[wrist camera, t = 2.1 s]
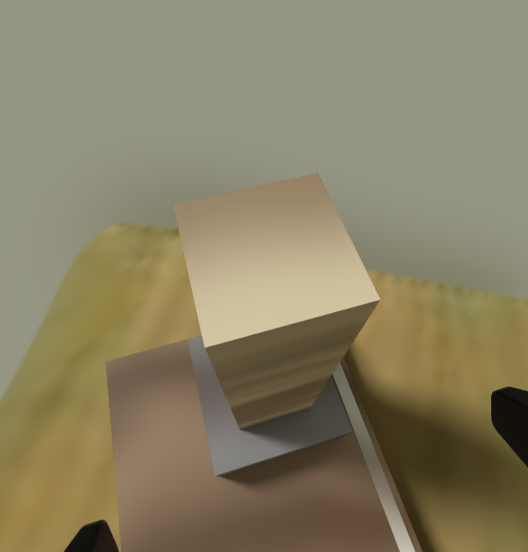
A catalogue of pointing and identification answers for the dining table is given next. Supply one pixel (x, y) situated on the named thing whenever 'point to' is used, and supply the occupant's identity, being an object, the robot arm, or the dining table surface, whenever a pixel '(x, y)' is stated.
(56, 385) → the dining table surface
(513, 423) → the robot arm
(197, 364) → the wooden post with base
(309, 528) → the plank
